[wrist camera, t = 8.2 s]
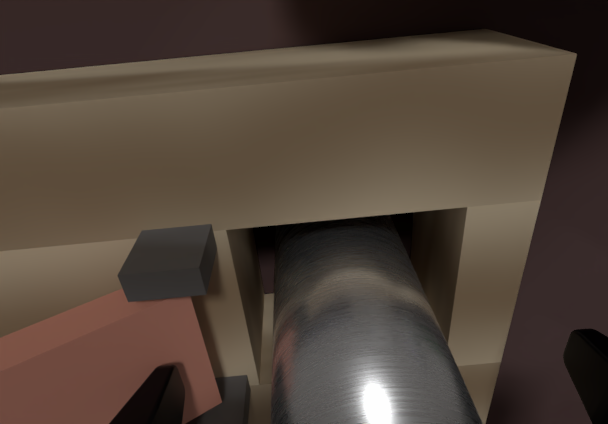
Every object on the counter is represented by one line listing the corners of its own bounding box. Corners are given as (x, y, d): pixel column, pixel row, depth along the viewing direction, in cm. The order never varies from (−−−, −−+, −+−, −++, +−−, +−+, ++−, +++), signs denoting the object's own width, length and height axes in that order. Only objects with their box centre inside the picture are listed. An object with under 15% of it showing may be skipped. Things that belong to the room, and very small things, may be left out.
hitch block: (445, 334, 17) (507, 474, 12) (71, 369, 17) (-10, 523, 12) (486, 28, 11) (641, 71, 6) (-92, 84, 11) (-374, 168, 6)
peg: (388, 266, 15) (496, 568, 8) (282, 277, 15) (282, 588, 8) (390, 171, 13) (541, 448, 6) (268, 182, 13) (249, 476, 6)
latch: (174, 266, 10) (188, 289, 9) (208, 376, 12) (222, 402, 11) (-242, 435, 7) (-275, 491, 6) (-99, 543, 9) (-110, 594, 8)
